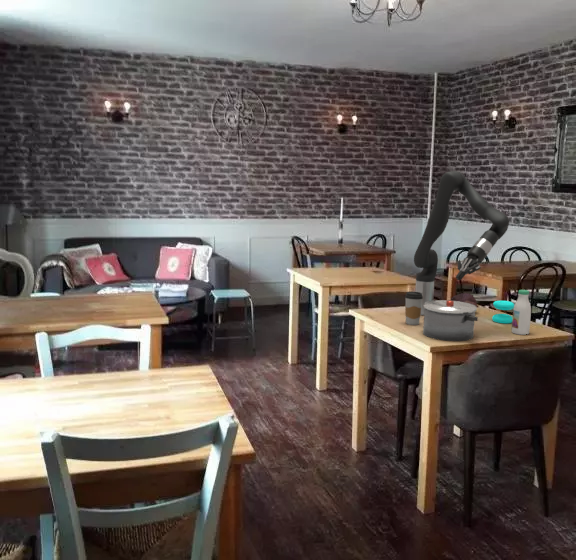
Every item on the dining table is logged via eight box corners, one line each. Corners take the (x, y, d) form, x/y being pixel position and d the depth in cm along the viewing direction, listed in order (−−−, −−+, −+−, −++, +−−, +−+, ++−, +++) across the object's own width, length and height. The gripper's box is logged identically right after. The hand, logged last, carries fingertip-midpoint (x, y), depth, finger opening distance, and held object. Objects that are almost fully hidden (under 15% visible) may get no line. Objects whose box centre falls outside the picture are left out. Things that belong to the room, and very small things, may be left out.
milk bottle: (528, 332, 301) (532, 289, 297) (529, 335, 293) (533, 292, 290) (511, 330, 303) (514, 288, 300) (511, 334, 296) (514, 291, 293)
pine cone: (445, 309, 347) (446, 290, 345) (457, 307, 352) (459, 289, 350) (471, 315, 332) (472, 296, 330) (484, 313, 338) (485, 294, 336)
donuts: (504, 299, 325) (519, 303, 316) (503, 318, 327) (517, 323, 318) (489, 300, 321) (503, 304, 312) (487, 320, 323) (501, 324, 314)
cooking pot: (491, 340, 284) (493, 313, 282) (454, 345, 273) (455, 318, 271) (442, 324, 311) (444, 300, 309) (406, 329, 300) (408, 304, 298)
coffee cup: (420, 322, 315) (422, 291, 313) (422, 326, 307) (423, 295, 305) (402, 321, 316) (404, 291, 314) (404, 325, 308) (406, 294, 305)
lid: (488, 311, 286) (489, 303, 285) (448, 316, 275) (448, 308, 274) (451, 301, 306) (452, 294, 305) (412, 305, 294) (413, 298, 294)
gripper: (465, 243, 297) (443, 271, 294) (487, 246, 286) (464, 275, 282) (473, 254, 301) (451, 282, 297) (494, 258, 290) (472, 286, 286)
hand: (457, 278), depth 290 cm, fingers closed
